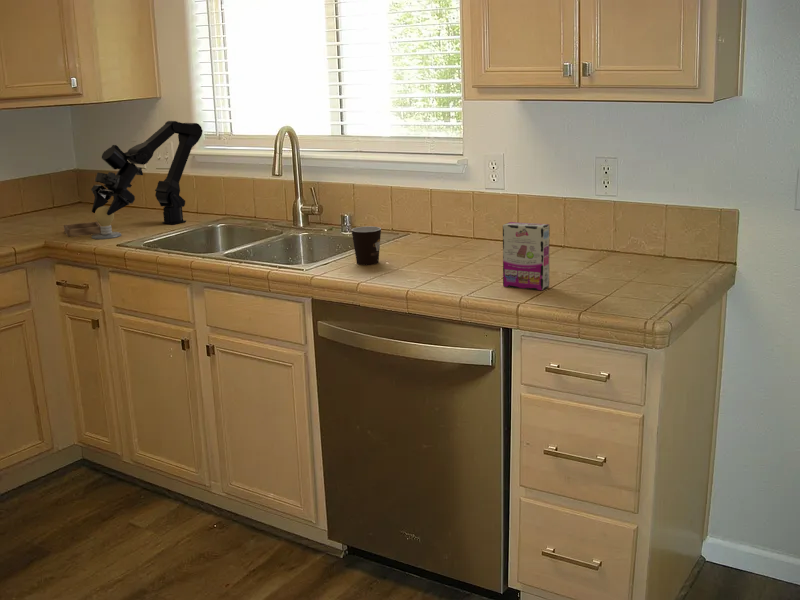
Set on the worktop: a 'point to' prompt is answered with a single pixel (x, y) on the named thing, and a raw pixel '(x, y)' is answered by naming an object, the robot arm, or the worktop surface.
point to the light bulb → (104, 220)
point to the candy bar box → (526, 255)
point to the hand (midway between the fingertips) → (100, 213)
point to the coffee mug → (366, 244)
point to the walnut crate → (82, 229)
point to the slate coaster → (112, 235)
